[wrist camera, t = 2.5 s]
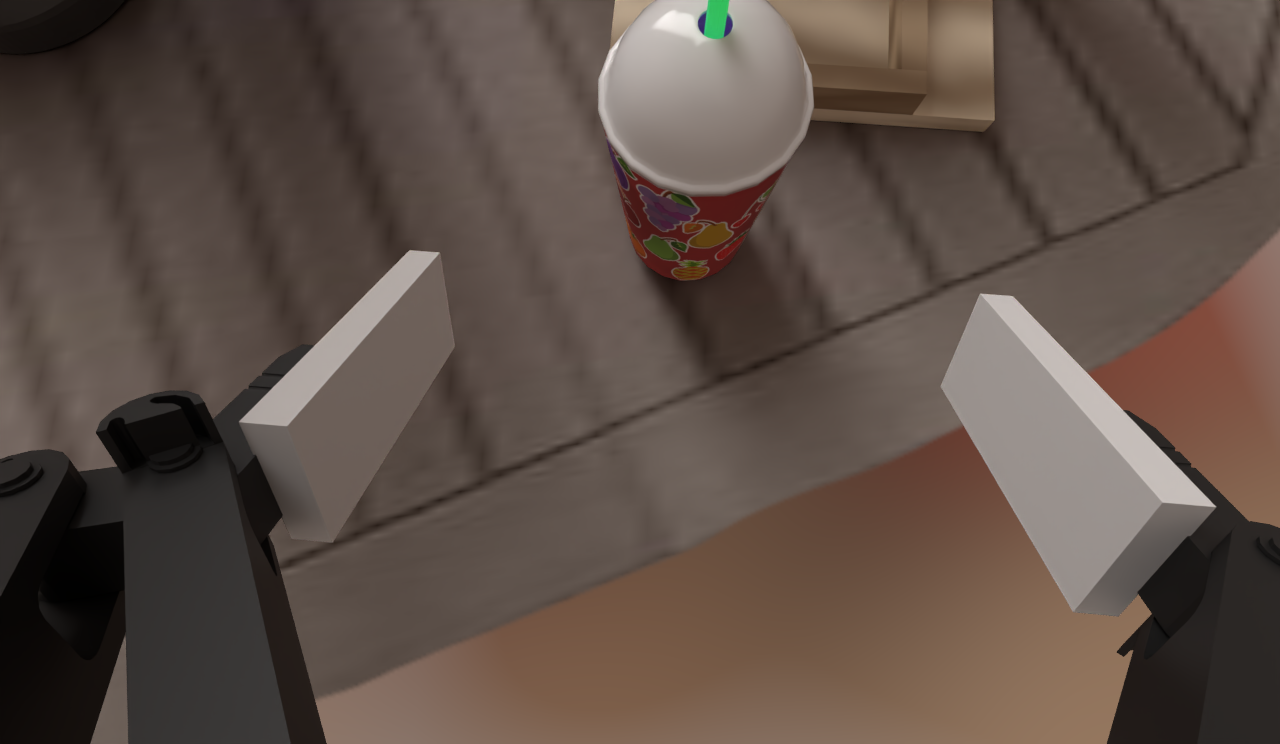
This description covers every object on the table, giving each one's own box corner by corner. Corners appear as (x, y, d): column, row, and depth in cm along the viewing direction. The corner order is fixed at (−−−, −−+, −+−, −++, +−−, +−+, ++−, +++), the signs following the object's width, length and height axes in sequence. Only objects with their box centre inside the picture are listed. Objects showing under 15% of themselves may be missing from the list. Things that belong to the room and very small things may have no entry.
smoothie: (767, 192, 36) (904, -139, 17) (733, 316, 35) (837, 115, 15) (639, 158, 37) (626, -201, 17) (600, 279, 36) (539, 39, 16)
